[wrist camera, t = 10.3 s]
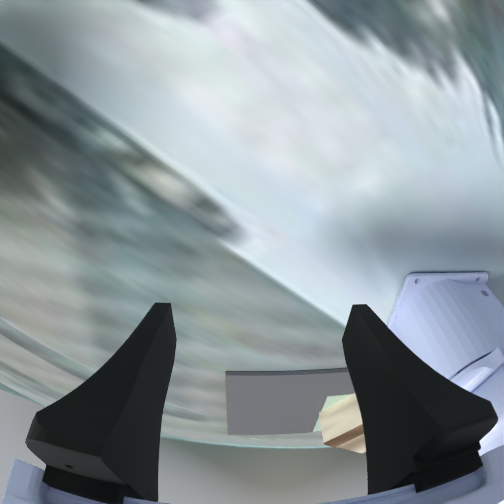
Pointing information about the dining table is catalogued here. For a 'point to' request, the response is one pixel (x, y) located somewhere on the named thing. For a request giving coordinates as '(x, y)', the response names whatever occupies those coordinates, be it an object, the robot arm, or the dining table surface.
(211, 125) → the dining table surface
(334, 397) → the mat
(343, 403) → the block
